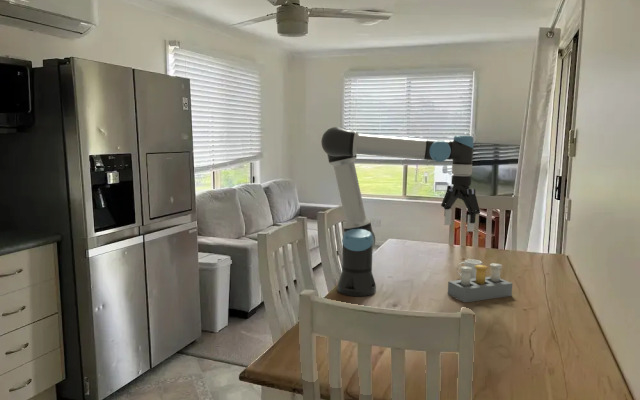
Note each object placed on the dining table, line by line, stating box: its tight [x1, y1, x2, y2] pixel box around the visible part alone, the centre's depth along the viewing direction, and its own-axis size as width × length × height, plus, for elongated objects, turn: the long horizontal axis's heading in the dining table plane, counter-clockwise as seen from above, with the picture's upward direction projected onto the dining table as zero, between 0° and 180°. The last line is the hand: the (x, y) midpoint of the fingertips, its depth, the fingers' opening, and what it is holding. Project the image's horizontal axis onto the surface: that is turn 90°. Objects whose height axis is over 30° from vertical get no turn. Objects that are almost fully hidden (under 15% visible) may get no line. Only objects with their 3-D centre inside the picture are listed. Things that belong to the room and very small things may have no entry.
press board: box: [447, 275, 513, 303], centre depth 179 cm, size 22×10×5 cm, turn 110°
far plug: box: [489, 263, 503, 283], centre depth 181 cm, size 4×4×7 cm
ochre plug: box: [475, 264, 488, 284], centre depth 179 cm, size 4×4×7 cm
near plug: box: [459, 265, 472, 286], centre depth 176 cm, size 4×4×7 cm
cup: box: [456, 258, 483, 279], centre depth 199 cm, size 7×10×8 cm
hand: (458, 228), depth 187 cm, fingers open, 13 cm apart
